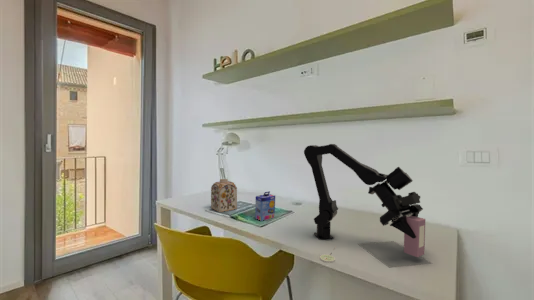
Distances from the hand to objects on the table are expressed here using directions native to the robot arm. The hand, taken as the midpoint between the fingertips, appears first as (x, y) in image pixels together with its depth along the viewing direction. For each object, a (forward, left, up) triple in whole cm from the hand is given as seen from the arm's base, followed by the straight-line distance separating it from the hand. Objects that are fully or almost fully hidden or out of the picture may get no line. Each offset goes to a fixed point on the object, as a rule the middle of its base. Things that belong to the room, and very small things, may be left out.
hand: (418, 236), depth 84 cm
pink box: (-1, -1, -6) cm, 6 cm away
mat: (-7, -5, -9) cm, 12 cm away
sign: (-11, -26, -9) cm, 30 cm away
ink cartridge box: (-56, -42, -9) cm, 71 cm away
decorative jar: (-79, -63, -9) cm, 102 cm away
